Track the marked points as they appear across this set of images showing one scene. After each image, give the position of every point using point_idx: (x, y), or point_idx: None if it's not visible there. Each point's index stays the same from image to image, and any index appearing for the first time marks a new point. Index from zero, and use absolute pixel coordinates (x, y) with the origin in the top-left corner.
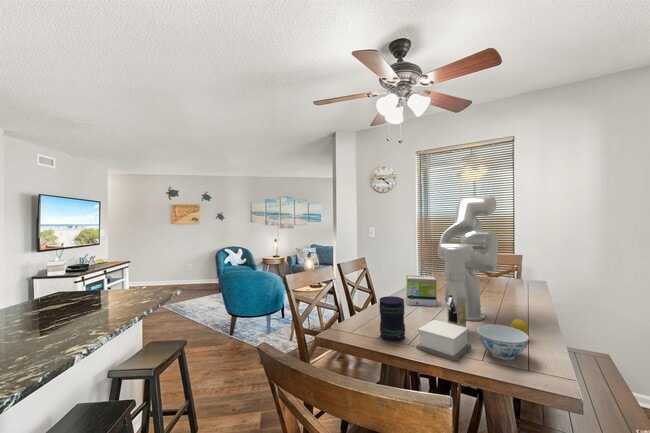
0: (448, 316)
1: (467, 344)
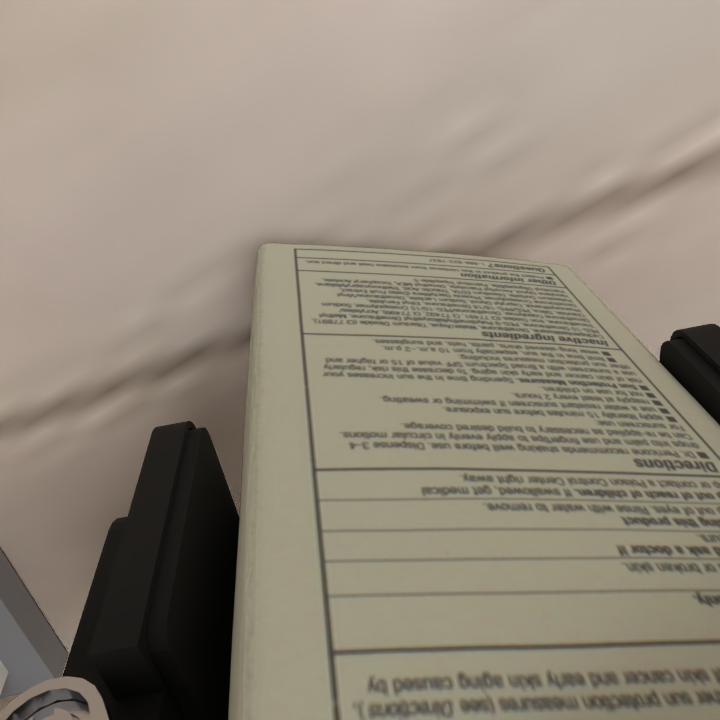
0: (247, 405)
1: (13, 674)
